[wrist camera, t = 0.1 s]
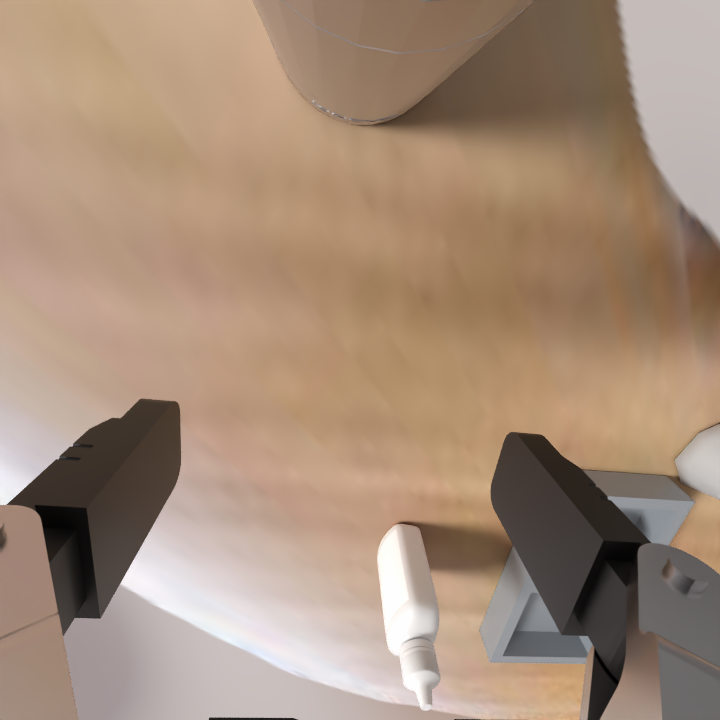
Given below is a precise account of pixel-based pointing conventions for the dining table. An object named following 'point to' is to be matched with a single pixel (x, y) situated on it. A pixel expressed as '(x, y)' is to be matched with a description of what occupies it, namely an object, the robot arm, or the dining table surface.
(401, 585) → the eye dropper bottle
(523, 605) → the holder
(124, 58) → the dining table surface
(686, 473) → the flask
